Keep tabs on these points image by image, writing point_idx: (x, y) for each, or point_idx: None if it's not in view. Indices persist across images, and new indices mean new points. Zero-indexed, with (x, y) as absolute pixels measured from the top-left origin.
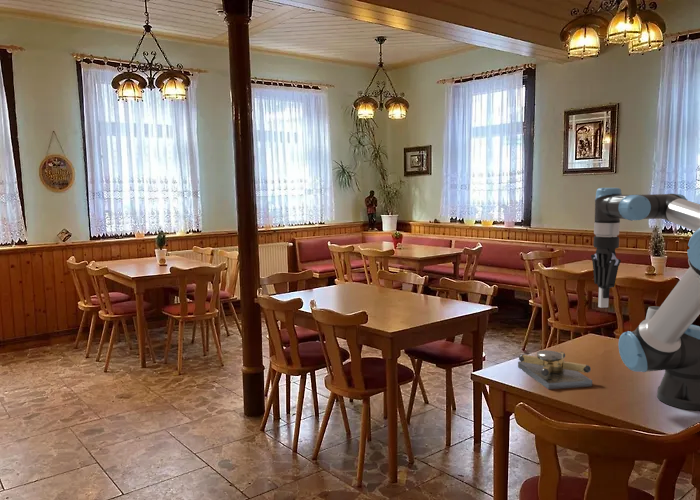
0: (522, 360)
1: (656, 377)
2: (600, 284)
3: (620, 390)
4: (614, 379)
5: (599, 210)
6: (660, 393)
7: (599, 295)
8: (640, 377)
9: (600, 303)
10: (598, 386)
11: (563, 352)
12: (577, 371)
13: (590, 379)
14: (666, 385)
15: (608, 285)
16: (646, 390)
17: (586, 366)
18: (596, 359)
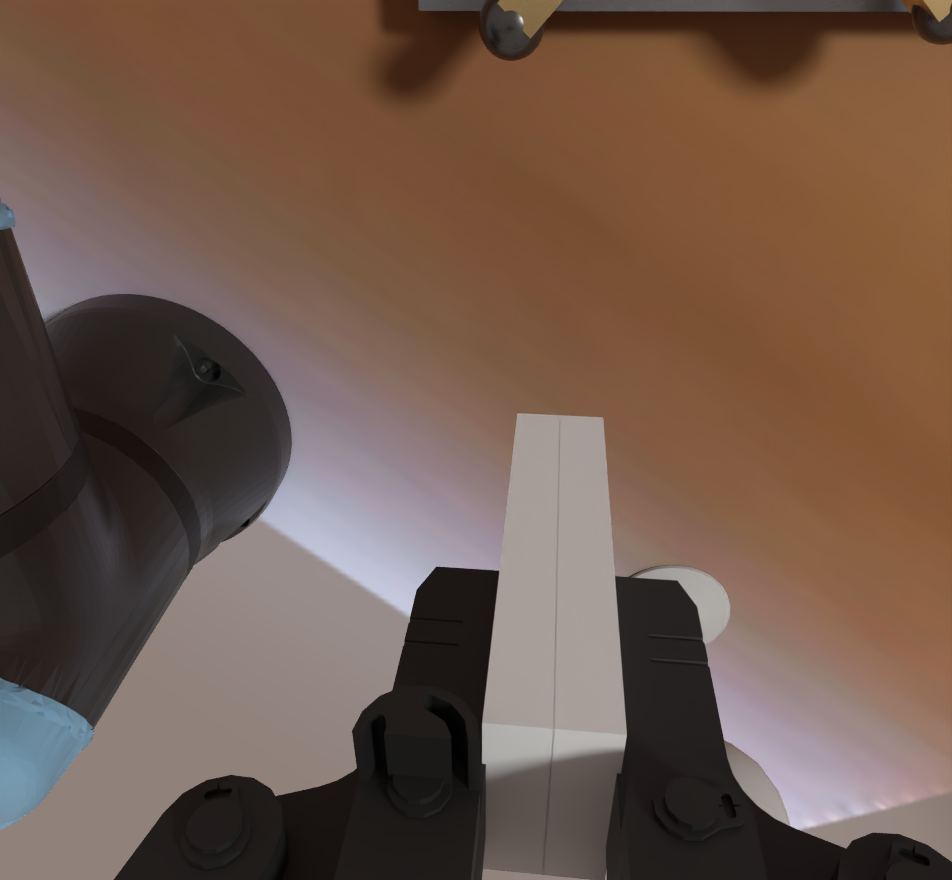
0: None
1: None
2: (619, 851)
3: (329, 174)
4: (527, 265)
5: None
6: (137, 314)
7: (577, 564)
8: None
9: (524, 456)
10: (418, 61)
11: (948, 21)
12: (641, 7)
13: (437, 6)
14: (84, 352)
15: (147, 854)
16: (318, 330)
17: (497, 10)
18: (929, 396)
